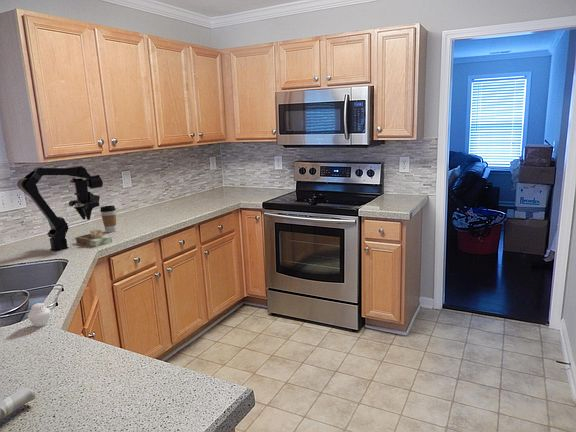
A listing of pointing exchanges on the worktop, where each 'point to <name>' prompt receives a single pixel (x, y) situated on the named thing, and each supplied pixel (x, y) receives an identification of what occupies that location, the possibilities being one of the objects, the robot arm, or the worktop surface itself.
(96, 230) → the beech block
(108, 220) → the coffee cup
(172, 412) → the worktop surface
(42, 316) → the pale grey rounded lump
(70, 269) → the worktop surface
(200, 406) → the worktop surface
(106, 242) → the trap board
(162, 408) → the worktop surface
